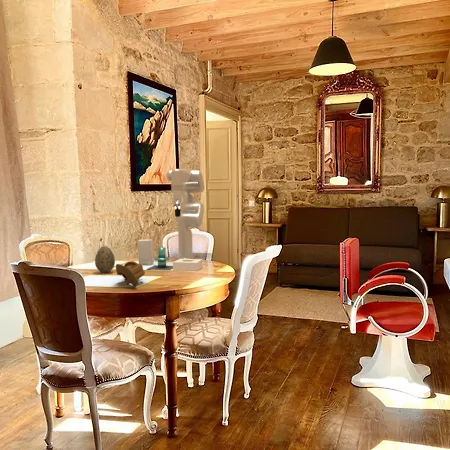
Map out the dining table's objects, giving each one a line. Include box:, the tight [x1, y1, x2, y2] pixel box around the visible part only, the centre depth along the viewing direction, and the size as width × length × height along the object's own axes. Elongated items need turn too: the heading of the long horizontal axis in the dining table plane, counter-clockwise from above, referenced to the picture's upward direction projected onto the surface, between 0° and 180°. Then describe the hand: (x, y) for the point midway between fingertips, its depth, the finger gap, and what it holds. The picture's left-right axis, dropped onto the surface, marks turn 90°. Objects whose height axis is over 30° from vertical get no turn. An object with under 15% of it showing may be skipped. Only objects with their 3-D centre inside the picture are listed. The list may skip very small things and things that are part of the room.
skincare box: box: [137, 238, 155, 266], centre depth 271 cm, size 8×7×16 cm
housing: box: [172, 258, 203, 272], centre depth 253 cm, size 14×14×5 cm
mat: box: [146, 264, 173, 271], centre depth 256 cm, size 14×14×1 cm
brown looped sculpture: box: [115, 260, 146, 288], centre depth 212 cm, size 18×13×22 cm
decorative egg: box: [94, 245, 116, 274], centre depth 242 cm, size 11×11×15 cm
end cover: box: [153, 246, 171, 268], centre depth 256 cm, size 9×9×12 cm
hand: (177, 216), depth 270 cm, fingers open, 9 cm apart
